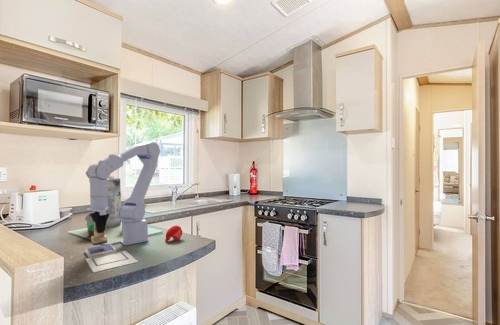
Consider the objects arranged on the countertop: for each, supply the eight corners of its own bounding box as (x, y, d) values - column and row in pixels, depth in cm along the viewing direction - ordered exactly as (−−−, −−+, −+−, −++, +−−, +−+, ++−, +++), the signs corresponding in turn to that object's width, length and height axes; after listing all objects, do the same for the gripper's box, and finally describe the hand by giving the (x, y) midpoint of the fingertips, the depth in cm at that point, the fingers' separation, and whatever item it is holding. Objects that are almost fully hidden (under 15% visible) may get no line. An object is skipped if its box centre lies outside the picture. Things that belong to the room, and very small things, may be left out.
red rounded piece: (178, 229, 122) (166, 224, 119) (185, 226, 118) (173, 221, 115) (172, 247, 117) (160, 242, 114) (180, 244, 113) (167, 239, 110)
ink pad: (111, 247, 109) (111, 243, 109) (116, 252, 102) (116, 248, 102) (84, 252, 103) (84, 248, 103) (88, 258, 96) (88, 254, 96)
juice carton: (112, 227, 144) (111, 176, 144) (95, 227, 146) (94, 177, 147) (123, 223, 153) (122, 175, 153) (107, 223, 155) (106, 176, 155)
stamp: (104, 240, 105) (104, 219, 105) (107, 243, 102) (106, 221, 102) (91, 242, 103) (91, 221, 103) (93, 245, 99) (93, 223, 99)
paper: (125, 251, 103) (125, 250, 103) (137, 262, 91) (137, 261, 91) (85, 259, 95) (85, 258, 95) (93, 272, 83) (93, 271, 83)
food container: (83, 235, 130) (82, 214, 130) (97, 232, 134) (97, 212, 134) (88, 240, 120) (87, 217, 121) (103, 237, 124) (103, 215, 125)
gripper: (83, 195, 106) (84, 230, 106) (89, 198, 94) (90, 237, 94) (104, 193, 110) (105, 227, 110) (112, 196, 99) (113, 234, 99)
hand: (99, 231), depth 102 cm, fingers closed on stamp, 3 cm apart
